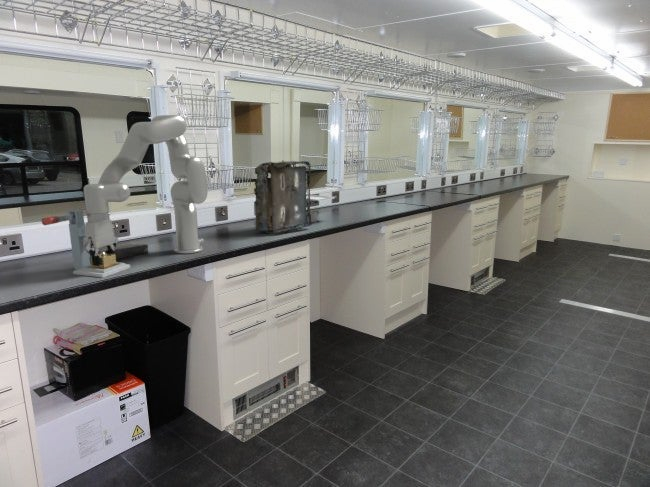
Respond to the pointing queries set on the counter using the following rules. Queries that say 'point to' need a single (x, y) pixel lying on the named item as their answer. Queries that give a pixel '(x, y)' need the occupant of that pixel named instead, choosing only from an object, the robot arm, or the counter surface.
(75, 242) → the press
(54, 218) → the lever
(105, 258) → the housing
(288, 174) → the machinery component
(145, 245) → the stone block
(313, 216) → the solar panel model
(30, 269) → the counter surface
